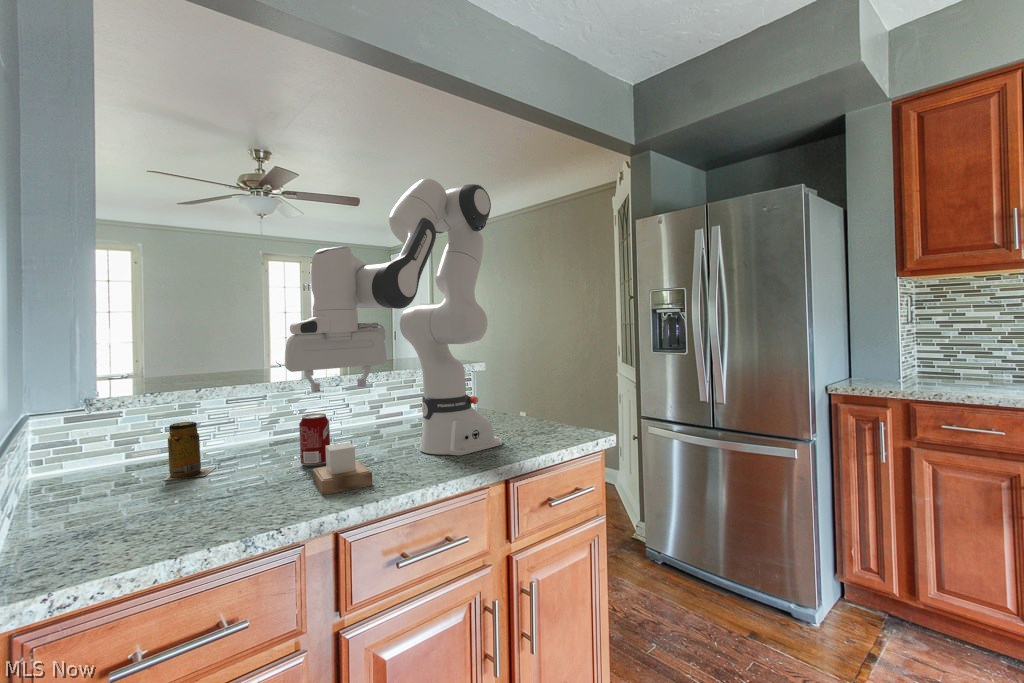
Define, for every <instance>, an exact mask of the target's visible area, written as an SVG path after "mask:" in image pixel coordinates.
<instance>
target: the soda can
mask: <svg viewBox="0 0 1024 683" xmlns="http://www.w3.org/2000/svg"><path fill="white" fill-rule="evenodd" d="M298 426H299V447H300V449H299V450H300V451H299V453H300V464H301V465H303V466H306V467H309V468H312V467H313V468H316V467H322V466H324V465H326V450H325V446H327V445H331V437H330V434H331V431H330V430H331V429H330V420H329V419H328V417H327V413H324V412H314V413H307V414H306V413H305V414H303V415H301V419H300V422H299V425H298Z"/></svg>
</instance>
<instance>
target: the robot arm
mask: <svg viewBox="0 0 1024 683" xmlns="http://www.w3.org/2000/svg"><path fill="white" fill-rule="evenodd" d="M490 198H491V197H490V196H489V194H488V192H487V190H486V189H485V188H484V186H482V185H479V184H474V183H471V184H465V185H463V186H457V187H452V188H449V189H446V190H445V188H444V187H443V185H441V183H439V182H438V181H436V180H434V179H432V178H423V179H420V180H418V181H417V182H415V183H414V184H412V186H410V187H409V188H408V189H407V190H406V191H405V192H404V194H403V195H401V197H400V198H399V200H398V201H397V202H396V203H395V204H394V207H393V208H391V212H390V214H389V217H388V223H389V228H390V230H391V232H392V233H393V235H394V236H395V238H396V239H397V240H398V241H399V242H401V243H402V244H403V247H402V249H401V251H400V253H399V255H398V257H396V258H394V259H393V260H389V261H387V262H383V263H373V264H368V263H366V262H364V261H363V260H361V259H360V258H358V257H357V256H356V254H354V253H353V251H352V249H351V248H350V247H348V246H333V247H326V248H320V249H318V250H316V251H314V253H313V255H312V260H311V266H310V284H311V285H310V286H311V292H312V295H313V306H312V316H311V317H309V318H304V319H303V320H299V321H296V322H293V323H291V324H290V326H289V332H290V334H292V335H291V336H289V338H288V339H287V340H286V344H285V352H284V367H285V369H287V370H288V371H289V372H293V373H295V372H303V373H304V377H305V378H306V379H307V381H308V383H310V389H311V390H310V391H311V393H318V392H321V388H320V386H321V383H320V382H315V380H314V379H313V378H312V376H314V371H317V370H318V371H319V370H330V369H331V370H332V369H342V368H343V369H344V368H355V367H361V370H362V371H363V373H362V375H361V377H360V378H356V382H357V387H358V388H366V387H367V379H368V377H369V375H370V373H371V371H372V367H371V366H379V365H384V364H385V363H386V362H387V359H388V358H387V356H388V355H387V348H386V343H385V340H386V329H385V327H384V326H383V325H381V324H380V323H379V322H369V323H368V322H359V317H358V316H359V315H358V309H379V308H381V309H382V308H387V309H396V310H397V309H400V310H402V309H404V308H405V310H404V311H403V312H402V314H401V316H400V319H399V331H400V333H401V334H402V336H403V337H404V339H405V340H406V341H407V342H409V343H410V345H412V347H413V349H414V350H415V352H416V354H417V356H418V360H419V363H420V365H421V371H422V381H423V382H422V383H423V396H422V399H421V400H422V401H421V402H422V403H421V411H422V412H421V413H422V417H423V418H422V419H423V427H422V435H421V440H420V444H419V448H418V449H419V451H420V452H423V453H425V454H431V455H450V456H464V455H468V454H471V453H475V452H480V451H483V450H487V449H491V448H494V447H499V446H502V445H503V440H502V438H501V437H499V436H497V435H495V433H494V428H493V424H492V422H491V420H489V419H488V418H487V417H486V416H484V415H483V414H481V413H480V412H478V410H476V409H474V408H473V407H472V404H474V405H476V404H478V403H479V398H478V396H474V395H471V396H470V395H468V394H466V373H465V372H466V370H465V367H464V365H463V363H462V362H461V361H460V360H458V359H456V357H454V356H453V354H452V353H451V350H450V348H449V345H465V344H471V343H475V342H479V341H480V340H482V339H483V338H484V336H485V334H486V332H487V329H488V317H487V314H486V312H485V310H484V308H482V307H481V305H480V304H478V302H477V301H476V297H475V296H476V295H475V293H476V292H475V291H476V290H475V289H476V285H477V280H478V276H479V272H480V268H481V265H482V259H483V254H484V237H483V235H482V233H480V232H481V231H482V230H483V229H485V227H486V226H487V221H488V219H489V218H490V213H491V208H492V202H491V199H490ZM445 232H446V233H447V237H448V238H447V243H446V245H445V247H444V250H443V252H442V256H441V258H440V262H439V265H438V269H437V271H436V273H435V274H436V275H435V283H436V287H437V288H438V290H439V291H440V292H441V293H442V294H443V295H444V298H443V300H442V301H441V302H437V303H421V304H417V305H414V306H411V307H408V306H410V305H411V304H412V303H413V301H414V299H415V298H416V296H417V293H418V289H419V286H420V285H419V284H420V280H421V276H422V273H423V272H424V269H425V266H426V265H427V262H428V261H429V260H428V259H429V257H430V255H431V253H432V251H433V247H434V245H435V242H436V239H437V234H443V233H445Z"/></svg>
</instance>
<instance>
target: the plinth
mask: <svg viewBox="0 0 1024 683" xmlns="http://www.w3.org/2000/svg"><path fill="white" fill-rule="evenodd" d="M355 467H356V470H355V471H349V472H344V473H338V474H332V475H331V474H330V473H329V472H328V470H327V469H326V465H325V466H318V467H314V468H312V482H313V484H314V485H315V487H316V488H317V489H318V492H319V493H320V494H321V496H326V495H330V494H336V493H340V492H346V491H350V490H356V489H361V488H365V487H370V486H371V487H372V486H373V471H372V470H370V469H369V468H368V467H367V466H366V465H365V464H363V463H362V461H360V460H355Z"/></svg>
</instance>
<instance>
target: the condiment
mask: <svg viewBox="0 0 1024 683" xmlns="http://www.w3.org/2000/svg"><path fill="white" fill-rule="evenodd" d="M197 425H198V423H197V422H196V421H183V422H182V421H181V422H175V423H172V424H170V425H169V427H168V428H169V433H168V434H169V436H168V438H167V448H168V467H169V469H168V471H169V475H168V476H167V477H166V476H165V477H164V478H162V481H171V480H182V479H187V478H188V479H190V478H198V477H205V476H207V475H208V474H210V473H212V471H213V470H215V468H216V467H204V468H203V467H202V465H201V464H202V461H201V460H202V459H201V444H200V443H201V442H200V434H199V432H198V428H197Z"/></svg>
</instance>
